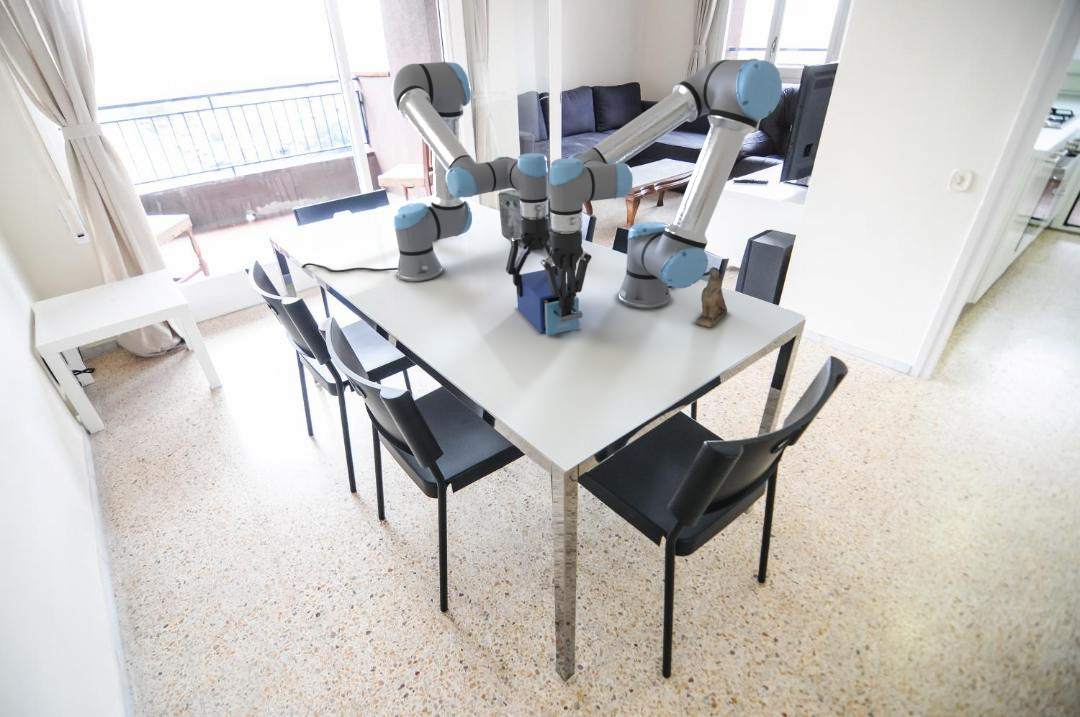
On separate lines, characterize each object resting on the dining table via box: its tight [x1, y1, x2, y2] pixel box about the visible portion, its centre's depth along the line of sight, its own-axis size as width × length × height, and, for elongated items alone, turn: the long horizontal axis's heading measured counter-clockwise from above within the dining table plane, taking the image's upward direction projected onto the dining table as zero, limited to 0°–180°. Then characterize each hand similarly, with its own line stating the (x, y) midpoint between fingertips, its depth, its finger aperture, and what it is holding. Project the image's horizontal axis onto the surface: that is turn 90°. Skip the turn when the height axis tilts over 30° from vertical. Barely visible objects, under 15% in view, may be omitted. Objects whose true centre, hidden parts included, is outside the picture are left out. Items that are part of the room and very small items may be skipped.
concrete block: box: [497, 189, 552, 252], centre depth 191 cm, size 27×9×20 cm, turn 36°
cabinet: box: [516, 269, 568, 334], centre depth 141 cm, size 18×10×11 cm, turn 23°
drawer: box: [543, 296, 584, 336], centre depth 136 cm, size 22×9×9 cm, turn 23°
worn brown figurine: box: [695, 266, 728, 328], centre depth 135 cm, size 12×6×18 cm, turn 136°
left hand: (537, 291), depth 145 cm, fingers closed on cabinet, 10 cm apart
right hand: (566, 318), depth 130 cm, fingers closed
